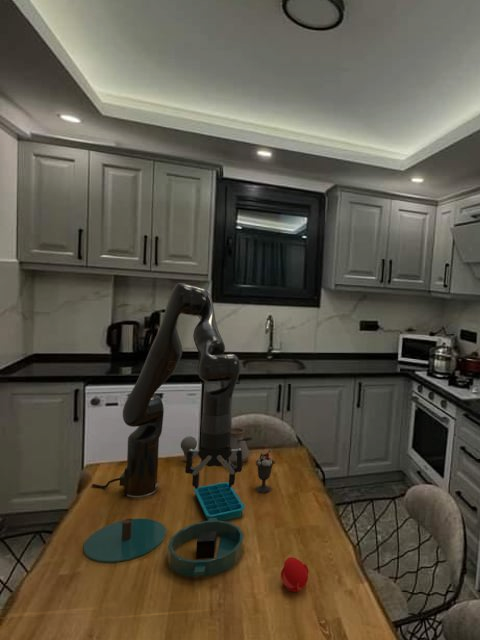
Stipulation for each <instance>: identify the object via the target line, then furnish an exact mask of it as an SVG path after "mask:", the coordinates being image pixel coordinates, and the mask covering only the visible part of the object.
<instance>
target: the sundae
mask: <svg viewBox="0 0 480 640" xmlns="http://www.w3.org/2000/svg"><path fill="white" fill-rule="evenodd" d="M270 452H271V450H270V449H269V450H268V451H267V452H266V453H264V454H263V453H260V456H259V459H257V460H255V465H256V467H257V475H258V478H259V480H260V481H261V485H259V486H257V487H256V488H255V490H256V492H258V493H263V494H264V493H268V492H270V491H271V487H270V486H269V485H266V481H267V480H268V479H269V478H270V477H271V473H272V469H273V467H274V464H276V462H275V460H273V459H272V458H271V455H270Z"/></svg>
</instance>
